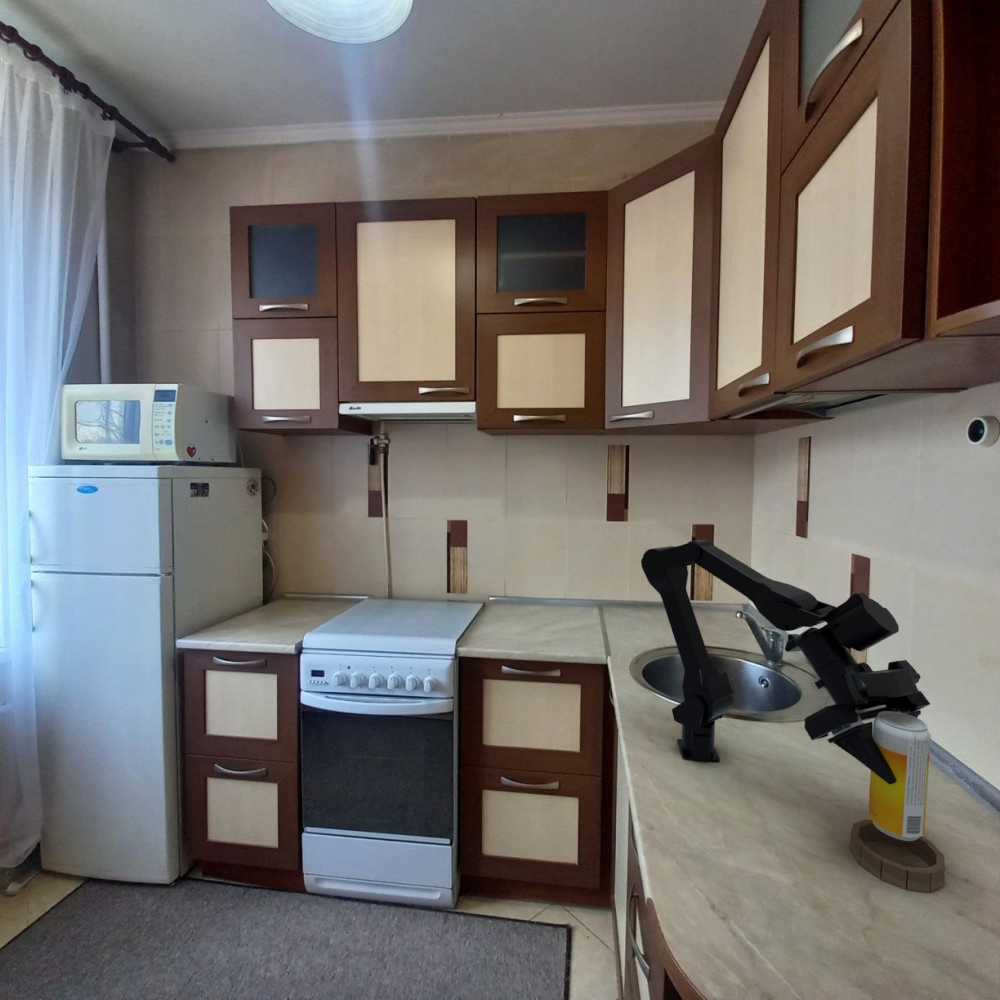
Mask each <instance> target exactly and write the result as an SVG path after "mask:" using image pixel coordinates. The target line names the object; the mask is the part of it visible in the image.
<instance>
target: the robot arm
mask: <svg viewBox="0 0 1000 1000" xmlns="http://www.w3.org/2000/svg"><path fill="white" fill-rule="evenodd" d="M640 564H641V565H640V566H641V569H642V571H643V573H644V575H645V577H646V579H647V582H648V583H649V585H650V586H651V587H652V588H653V589H654V590H655V591H656V592H657V593H658V594H659V595H660V598H661V601H662V603H663V606H664V610H665V613H666V616H667V620H668V623H669V625H670V629H671V632H672V635H673V638H674V641H675V645H676V648H677V651H678V654H679V656H680V660H681V663H682V666H683V671H684V672H683V680H682V686H681V689H682V694H683V701H682V702H680V703H679V704H677V705H675V707H673V708H672V709H671V712H672V713H671V714H672V717H673V720H674V721H675V722H676V723H678V724H680V725H681V738H677V739H676V743H677V747H678V749H679V752H680V754H681V757H682V758H683V759H685V760H693V761H694V760H695V761H705V762H706V761H707V762H716V763H718V762H720V760H721V759H720V756H719V754H718V752H717V749H716V748H715V735H716V732H715V730H716V726H715V725H716V722H715V721H717V720H719V719H720V720H721V719H723V717H724V715H725V713H727V712H729V711H730V710H731V708H732V706H733V704H734V698H733V695H735V693H736V692H735V691H734V690H733V688H732V686H731V683H730V681H729V675H728V673H727V672H726V671H722V672H719V671H718V669H716V667H714V665H713V664H712V663H711V660H710V657H709V654H708V650H707V648H706V645H705V641H704V639H703V636H702V631H701V630H700V627H699V625H698V621H697V618H696V615H695V612H694V608H693V605H692V602H691V600H690V597H689V594H688V590H687V584H688V577H689V569H688V566H693V565H695V564H696V565H697V566H699V567H700V568H701V569H703V570H705V571H707V572H708V573H709V574H711V575H712V576H714V577H715V578H716V579H719V580H720V581H721V582H723V583H724V584H725V585H728V586H729V587H731V588H732V589H734V590H735V591H736V592H738V593H739V594H741V595H742V596H744V597H746V598H747V599H749V601H751V603H753V605H754V606H755V608H756V610H757V611H758V613H759V614H760V615H761V616H762V617H763V618H764V619H765V620H767V621H768V623H770V624H771V625H772V626H773V627H775V628H776V629H778V630H779V631H784V632H791V631H796V630H797V629H798V630H799V629H801V628H807V629H805V630H804V631H803V632H801V633H799V634H798V633H791V634H790V633H789V634H787V641H786V644H785V646H784V651H785V652H786V653H791V652H792V653H793V652H801V653H802V654H803V656H804V657H805V659H806V660H807V662H808V664H809V665H810V667H811V668H812V670H813V672H814V674H815V675H816V676H817V678H818V679H819V680H817V681H815V682H814V684H815V686H816V688H817V690H822V689H825V690H826V692H827V694H828V695H829V697H830V698H831V700H832V701H833V703H834V704H832V705H828V706H825V707H823V708H820V709H819V710H817V711H816V712H813V713H812V714H810V715H807V717H805V718H804V721H803V722H804V724H803V725H804V726H803V728H804V729H805V731H806V733H807V734H808V736H809V738H810V740H811V741H815V740H816V741H817V740H820V739H823V738H827V737H828V736H829V733H831V734H832V735H833V736H832V737H830V738H828V739H827V742H828V743H829V744H834V745H836V746H838V747H839V748H840V749H842V750H843V751H845V753H847V754H848V755H850V756H852V758H855V759H856V760H857V761H858V762H860V763H861V764H863V766H865V767H866V768H868V769H869V770H870V772H871V771H873V772H874V773H875V774H877V775H878V776H879V777H880V778H882V779H883V780H884V781H886V782H887V783H888V784H893V783H896V782H897V780H896V778H895V776H894V774H893V772H892V770H891V768H890V766H889V765H888V763H887V761H886V760H885V758H884V756H883V754H882V753H881V751H880V749H879V748H878V746H877V744H876V742H875V741H874V739H873V724H874V722H873V721H869V720H875V719H876V717H877V716H878V713H879V712H883V711H893V712H899V713H904V714H907V715H911V716H913V717H916V718H918V717H919V716H921V715H922V710H921V709H923V708H926V707H928V706H930V705H931V703H930V702H929V700H928V699H927V697H926V696H925V694H924V693H923V692H922V691H921V690H919V688H918V686H917V684H918V683H919V681H920V679H921V674H920V673H919V672H917V670H916V669H915V668H914V667H913V665H911V663H909V662H908V660H907V659H904V660H902V659H901V660H895V661H889V662H888V663H887V669H880V670H873V669H872V667H871V666H870V665H869V664H868V663H866V662H864V661H863V662H859V663H858V662H857V660H856V659H855V657H854V656H853V655H852V653H851V652H850V649H853V650H854V651H857V652H864V651H866V650H868V649H870V648H872V647H874V646H875V645H877V644H879V643H880V642H881V643H882V642H883V641H884V640H886V639H888V638H891V637H893V635H896V634H897V633H899V631H900V627H899V623H898V622H897V620H896V618H895V617H894V615H893V614H892V613H891V611H889V609H888V608H886V607H883V606H882V604H880V603H879V602H877V601H876V600H874V599H872V598H870V597H868V596H867V595H866V593H865V592H864V591H859V592H856V593H854V594H852V595H851V596H849V597H848V598H847V600H845V601H844V602H843V603H841V604H839V605H837V606H835V605H832V604H828V603H826V602H824V601H821V600H818V599H817V598H816V597H815V596H814V595H813V594H812V593H811V592H809V591H807V590H804V589H802V588H800V587H797V586H795V585H792V584H790V583H785V582H783V581H777V580H775V579H771V578H769V577H766V576H765V575H764V574H762V573H761V572H758V571H757V570H755V569H753V568H752V567H751V566H748V565H747V564H746V563H743V562H742V561H741V560H739V559H737V558H735V557H734V556H732V555H731V554H729V553H727V552H726V551H724V550H722V549H720V548H719V547H717V546H715V545H714V543H712V542H711V541H710V540H707V539H698V540H690V541H688V542H687V543H683V544H681V545H676V546H673V545H670V546H663V547H662V546H661V547H655V548H649V549H647V550H645V552H644V553H643V555H642V557H641V559H640ZM823 623H826V624H825V625H823V626H821V627H820V628H817V627H815V626H818V625H821V624H823ZM918 719H919V718H918ZM864 721H868V722H866V723H864ZM929 770H930V769H929ZM929 770H928V773H929V772H930V771H929Z"/></svg>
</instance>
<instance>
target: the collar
mask: <svg viewBox="0 0 1000 1000" xmlns="http://www.w3.org/2000/svg"><path fill="white" fill-rule="evenodd" d="M868 841H877V842H887V843H889V844H892V845H894V846H895V845H896V846H898V847H901V848H903V849H906V850H907V851H909V852H911V853H913V854H914V855H916V856H917V857H919V858H921V859H922V860H924V861H925V862H926V864H928V867H926V868H924V867H923V868H921V867H913V866H907V865H906V866H905V865H902V864H900V863H898V862H895V861H891V860H889V859H888V858H887V859H886V858H884V857H883V856H881V855H879V854H878V853H877V852H875V851H874V850H872V849H870V848H869V847H868V846H867V845H866V843H865V842H868ZM849 849H850V853H851V855H852V856H853V857H854V859H855V860H856V862H857V863H858V864H859V865H860V867H862V868H864V869H865V870H867V872H869V873H870V874H872V876H873V875H874V876H875V877H876V878H878V879H879V880H881V881H883V882H886V883H888V884H890V885H893V886H896V887H899V888H901V889H903V890H905V891H911V892H912V891H913V892H920V893H921V892H922V893H933V892H935V891H937V890H939V889H942V888H944V887H945V869H946V868H945V867H946V863H945V855H944V854H943V852H941V851H940V849H938V847H936V846H935V844H934V843H933V842H932V841H931V840H928V838H925V837H923V836H921V837H919V838H918V839H917V840H914V841H905V840H900V839H896V838H893V837H891V836H889V835H887V834H885V833H883V832H882V831H880V830H879V829H878V828H877V827H876V826H875V825H874V824H873V821H872V820H871V819H863V820H860V821H857V822H854V823H853V824H852V828H851V831H850V848H849Z"/></svg>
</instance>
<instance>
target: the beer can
mask: <svg viewBox="0 0 1000 1000" xmlns="http://www.w3.org/2000/svg"><path fill="white" fill-rule="evenodd" d="M931 735H932V734H931V733H930V731H929V728H928V725H927V723H925V721H923V720H922V719H920V718H916V717H913V716H911V715H907V714H904V713H899V712H893V711H883V712H879V713H878V716H877V717H876V718H874V719H873V739H874V741H875V742H876V744H877V746H878V748H879V749H880V751H881V753H882V754H883V756H884V758H885V760H886V761H887V763H888V765H889V766H890V768H891V770H892V772H893V774H894V776H895V778H896V780H897V782H896V783H893V784H888V783H887V782H886V781H884V780H883V779H882V778H880V777H879V776H878V775H877V774H875V773H874V772H873V771H871V770H870V778H869V795H868V811H867V812H868V813H867V815H868V818H869V820H872V821H873V824H874V825H875V826H876V827H877V828H878V829H879V830H880V831H882V832H883V833H885V834H887V835H889V836H891V837H893V838H896V839H900V840H905V841H914V840H917V839H918V838H919V837H921V836H922V837H923V836H924V835H925V831H926V828H925V827H926V813H927V799H928V798H927V797H928V783H929V772H928V770H930V769H929V767H930V755H931V754H930V751H931Z"/></svg>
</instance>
